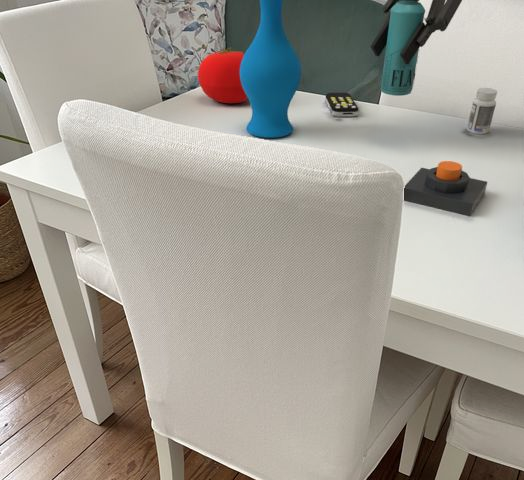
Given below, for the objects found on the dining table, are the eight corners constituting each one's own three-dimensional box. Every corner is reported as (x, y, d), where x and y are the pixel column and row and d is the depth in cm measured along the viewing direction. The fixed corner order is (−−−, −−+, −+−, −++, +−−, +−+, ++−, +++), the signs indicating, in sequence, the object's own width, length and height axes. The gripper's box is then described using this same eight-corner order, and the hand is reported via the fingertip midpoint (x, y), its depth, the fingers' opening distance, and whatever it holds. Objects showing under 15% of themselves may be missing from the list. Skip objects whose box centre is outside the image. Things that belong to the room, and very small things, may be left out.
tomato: (233, 113, 133) (231, 59, 125) (190, 101, 139) (186, 49, 132) (266, 100, 140) (266, 49, 133) (224, 89, 147) (222, 39, 139)
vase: (301, 140, 120) (309, -16, 101) (241, 142, 119) (239, -16, 101) (295, 121, 129) (301, -26, 111) (239, 122, 128) (236, -26, 110)
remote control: (349, 99, 141) (349, 91, 139) (359, 117, 131) (360, 108, 130) (324, 100, 140) (324, 91, 139) (332, 117, 131) (333, 108, 130)
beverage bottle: (384, 104, 111) (401, -17, 98) (373, 94, 116) (388, -23, 102) (416, 103, 111) (437, -18, 98) (404, 92, 116) (423, -24, 103)
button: (462, 175, 98) (465, 163, 97) (455, 183, 96) (458, 172, 94) (439, 170, 100) (442, 159, 99) (432, 178, 97) (435, 167, 96)
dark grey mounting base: (484, 193, 101) (490, 171, 99) (469, 216, 95) (475, 193, 92) (419, 178, 106) (423, 157, 103) (400, 199, 99) (404, 177, 97)
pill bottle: (492, 130, 125) (503, 90, 120) (482, 136, 123) (492, 95, 117) (472, 125, 128) (482, 85, 122) (462, 130, 125) (471, 90, 120)
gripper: (513, -35, 101) (437, 79, 104) (425, -46, 112) (359, 57, 115) (505, -71, 95) (424, 52, 98) (413, -78, 106) (343, 32, 109)
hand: (389, 55), depth 106 cm, fingers closed on beverage bottle, 6 cm apart
